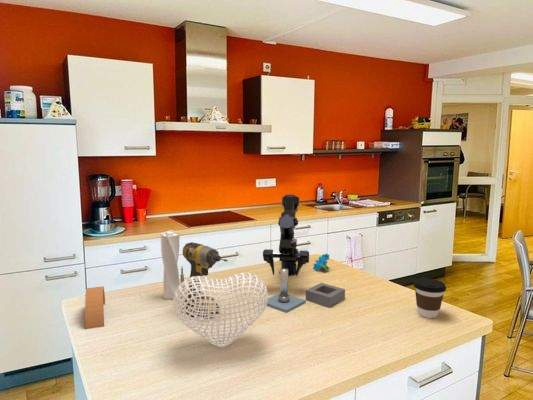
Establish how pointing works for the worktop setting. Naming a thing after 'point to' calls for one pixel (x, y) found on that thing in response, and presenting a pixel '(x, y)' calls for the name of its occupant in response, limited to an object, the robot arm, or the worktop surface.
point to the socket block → (325, 294)
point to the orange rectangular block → (94, 307)
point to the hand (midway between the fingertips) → (285, 275)
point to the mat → (285, 307)
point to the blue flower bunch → (322, 262)
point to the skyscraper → (171, 263)
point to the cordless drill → (200, 268)
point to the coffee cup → (429, 296)
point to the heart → (219, 282)
